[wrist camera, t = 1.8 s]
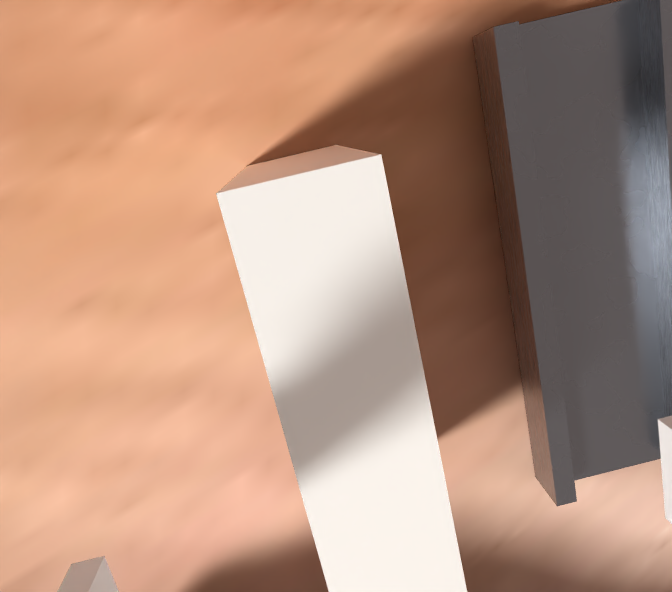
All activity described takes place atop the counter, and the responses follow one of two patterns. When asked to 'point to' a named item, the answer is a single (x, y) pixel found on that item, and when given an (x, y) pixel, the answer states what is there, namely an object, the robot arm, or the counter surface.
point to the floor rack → (586, 228)
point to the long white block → (345, 366)
